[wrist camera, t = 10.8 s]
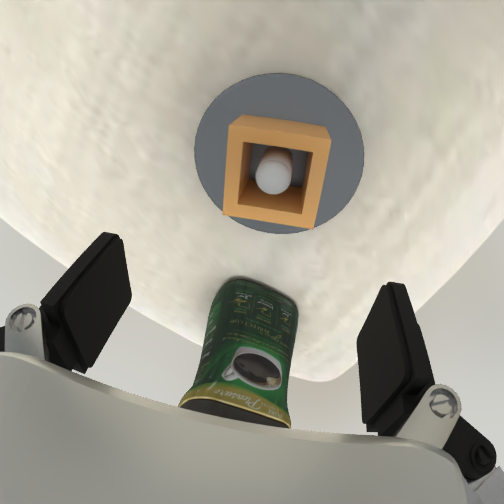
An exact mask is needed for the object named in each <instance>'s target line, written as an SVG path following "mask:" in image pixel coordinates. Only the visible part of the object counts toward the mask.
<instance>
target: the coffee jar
mask: <svg viewBox="0 0 504 504" xmlns="http://www.w3.org/2000/svg"><path fill="white" fill-rule="evenodd" d="M297 326H298V310H297V308H296V306H295V305H294V304H293V303H292V302H291V301H290V300H288V299H287V298H285V297H283V296H282V295H280V294H278V293H276V292H274V291H272V290H270V289H268V288H265V287H263V286H261V285H258V284H256V283H253V282H250V281H246V280H235V281H231V282H228V283H227V284H225V285H224V286H223V287H222V288H221V289H220V290H219V292H218V293H217V295H216V296H215V298H214V300H213V303H212V306H211V309H210V313H209V317H208V322H207V328H206V333H205V339H204V344H203V350H202V355H201V359H200V364H199V367H198V371H197V374H196V377H195V380H194V383H193V386H192V387H191V388H190V389H189V390H188V391H187V392H186V394H185V395H184V396H183V398H182V399H181V401H180V403H179V406H178V407H180V408H183V409H187V410H191V411H195V412H200V413H204V414H208V415H213V416H217V417H222V418H227V419H232V420H237V421H243V422H248V423H254V424H260V425H267V426H273V427H280V428H288V429H291V420H290V416H289V412H288V408H287V388H288V379H289V372H290V366H291V359H292V354H293V348H294V343H295V338H296V332H297Z"/></svg>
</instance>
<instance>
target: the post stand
mask: <svg viewBox="0 0 504 504" xmlns="http://www.w3.org/2000/svg"><path fill="white" fill-rule="evenodd" d="M242 114H244V115H253V116H261V117H269V118H276V119H283V120H290V121H296V122H302V123H308V124H314V125H319V126H325V127H326V129H327V131H328V133H329V136H330V138H331V146H330V151H329V156H328V161H327V166H326V172H325V176H324V181H323V186H322V191H321V196H320V201H319V205H318V210H317V214H316V219H315V224H314V228H315V227H317V226H319V225H321V224H323V223H325V222H327V221H328V220H330V219H331V218H333V217H334V216H335V215H337V214H338V213H339V212H340V211H341V210H342V209H343V208H344V207H345V206H346V205H347V203H348V202H349V201H350V199H351V198H352V196H353V195H354V193H355V191H356V189H357V187H358V185H359V182H360V179H361V176H362V172H363V166H364V147H363V141H362V137H361V133H360V130H359V128H358V125H357V123H356V121H355V119H354V117H353V116H352V114H351V112H350V111H349V109H348V108H347V107H346V106H345V104H344V103H343V102H342V101H341V100H340V99H339V98H338V97H337V96H336V95H335V94H333V93H332V92H331V91H329V90H328V89H327V88H325V87H324V86H322V85H320V84H318V83H316V82H314V81H312V80H310V79H307V78H304V77H301V76H297V75H292V74H282V73H274V74H263V75H258V76H253V77H250V78H247V79H245V80H242V81H240V82H238V83H236V84H234V85H232V86H231V87H229V88H228V89H226V90H225V91H224V92H222V93H221V94H220V95H219V96H218V97H217V98H216V99H215V100H214V101H213V102H212V104H211V105H210V106H209V107H208V109H207V110H206V112H205V114H204V115H203V117H202V119H201V122H200V124H199V127H198V130H197V134H196V138H195V147H194V152H195V163H196V169H197V172H198V176H199V179H200V181H201V183H202V185H203V188H204V189H205V191H206V193H207V194H208V196H209V197H210V198H211V200H212V201H213V202H214V204H215V205H216V206H217V207H218V208H219V209H220V210H221V211H222V212H223V200H224V185H225V170H226V156H227V143H228V130H229V125H230V124H231V123H232V122H234V121H235V120H236V119H237V118H239V117H240V116H241V115H242ZM307 157H308V151H303V150H297V149H291V148H285V147H278V146H271V145H264V144H257V143H252V152H251V161H250V171H249V180H254V181H256V182H257V185H258V186H259V188H260V189H261V190H262V191H264V192H265V193H268V194H279V193H282V192H283V191H285V190H286V189H287V188H288V186H293V187H299V188H302V185H303V180H304V174H305V169H306V163H307ZM229 217H230V218H232V219H233V220H235V221H237V222H238V223H240V224H242V225H244V226H246V227H249V228H252V229H255V230H258V231H262V232H267V233H275V234H289V233H298V232H302V231H306V230H309V229H308V228H302V227H296V226H290V225H284V224H278V223H272V222H266V221H259V220H253V219H247V218H240V217H234V216H229Z"/></svg>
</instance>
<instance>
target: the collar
mask: <svg viewBox="0 0 504 504" xmlns="http://www.w3.org/2000/svg"><path fill="white" fill-rule="evenodd" d="M252 143H257V144H264V145H271V146H278V147H285V148H291V149H297V150H303V151H308V157H307V163H306V169H305V174H304V180H303V185H302V188H299V187H293V186H288V188H287V189H286V190H285V191H283V192H282V193H279V194H268V193H265V192H264V191H262V190H261V189H260V188H259V186H258V185H257V182H256V181H254V180H249V171H250V161H251V152H252ZM330 146H331V138H330V136H329V133H328V131H327V129H326V127H325V126H319V125H314V124H308V123H302V122H296V121H290V120H283V119H276V118H269V117H261V116H253V115H244V114H242V115H241V116H240V117H239V118H237V119H236V120H235V121H234V122H232V123H231V124H230V125H229V130H228V143H227V156H226V170H225V185H224V200H223V215H227V216H234V217H240V218H247V219H253V220H259V221H266V222H272V223H278V224H284V225H290V226H296V227H302V228H308V229H313V228H314V224H315V219H316V214H317V210H318V205H319V201H320V196H321V191H322V186H323V181H324V176H325V172H326V166H327V161H328V156H329V151H330Z"/></svg>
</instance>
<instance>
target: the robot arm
mask: <svg viewBox="0 0 504 504" xmlns="http://www.w3.org/2000/svg"><path fill="white" fill-rule="evenodd" d="M131 298H132V292H131V287H130V281H129V276H128V270H127V264H126V258H125V251H124V244H123V240H122V239H120V237H119V235H117V234H113V233H108V232H103V233H102V234H101V235H100V236H99V237H98V238H97V239H96V240H95V241H94V242H93V243H92V244H91V245H90V246H89V247H88V248H87V249H86V250H85V251H84V252H83V253H82V255H81V256H80V257H79V258H78V259H77V260H76V261H75V262H74V263H73V264H72V266H71V267H70V268H69V269H68V270H67V271H66V272H65V273H64V275H63V276H62V277H61V278H60V279H59V280H58V281H57V283H56V284H55V285H54V286H53V287H52V288H51V290H50V291H49V292H48V293H47V294H46V296H45V297H44V298H43V299H42V301H41V306H40V308H39V309H38V307H37V306H35V305H32V304H23V305H20V306H18V307H16V308H15V309H13V310H12V311H11V312H10V313H9V315H8V317H7V318H6V323H5V326H3V327H0V504H504V472H503V471H502V469H501V468H500V466H499V467H497V468H496V467H495V464H496V451H495V448H494V446H493V444H491V442H490V441H489V440H488V439H487V438H485V437H484V436H483V435H482V434H481V433H480V432H478V431H477V430H476V429H475V428H474V427H473V426H471V425H470V424H469V423H468V422H467V421H466V420H465V419H463V418H462V417H461V416H460V413H461V401H460V399H459V397H458V395H457V393H456V392H455V391H454V390H453V389H452V388H450V387H448V386H446V385H442V384H436V385H435V381H434V377H433V373H432V369H431V365H430V361H429V357H428V354H427V350H426V346H425V343H424V339H423V336H422V332H421V329H420V326H419V325H418V323H417V321H416V317H415V314H414V311H413V308H412V305H411V302H410V299H409V296H408V293H407V290H406V287H405V285H404V284H401V283H395V282H388V283H387V285H383V286H382V287H381V289H380V291H379V293H378V295H377V298H376V300H375V302H374V304H373V306H372V308H371V310H370V313H369V315H368V317H367V319H366V321H365V323H364V325H363V327H362V329H361V331H360V333H359V335H358V338H357V354H358V365H359V378H360V391H361V408H362V422H363V423H364V424H366V427H367V432H378V436H374V435H354V434H339V433H326V432H315V431H305V430H296V429H288V428H280V427H273V426H267V425H260V424H254V423H248V422H243V421H237V420H232V419H227V418H222V417H217V416H213V415H208V414H204V413H200V412H195V411H191V410H187V409H183V408H180V407H176V406H172V405H168V404H165V403H161V402H158V401H154V400H151V399H148V398H144V397H141V396H138V395H135V394H132V393H129V392H126V391H123V390H120V389H117V388H114V387H111V386H108V385H106V384H103V383H100V382H97V381H95V380H92V379H90V378H87V377H84V376H82V375H79V374H77V373H74V372H72V369H74V370H76V371H79V372H81V373H83V374H85V373H86V371H87V369H88V367H89V368H91V367H92V366H93V365H94V363H95V361H96V359H97V358H98V356H99V354H100V352H101V350H102V349H103V347H104V345H105V343H106V342H107V340H108V338H109V337H110V335H111V333H112V332H113V330H114V328H115V327H116V325H117V323H118V321H119V320H120V318H121V316H122V315H123V313H124V312H125V310H126V308H127V307H128V305H129V304H130V302H131Z"/></svg>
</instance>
